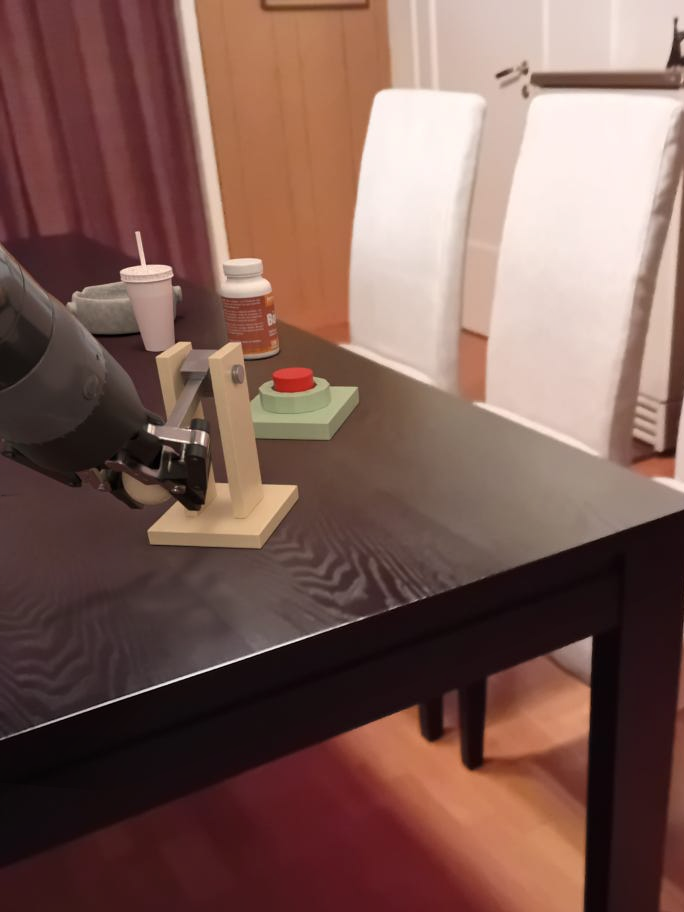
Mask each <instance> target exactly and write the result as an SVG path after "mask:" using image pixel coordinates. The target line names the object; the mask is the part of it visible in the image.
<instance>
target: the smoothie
mask: <svg viewBox="0 0 684 912" xmlns="http://www.w3.org/2000/svg"><path fill="white" fill-rule="evenodd" d="M134 233H135V239H136V245H137V249H138V254H139V260H140V265H135V266H130V267H126V268H123V269H121V270H120V271H119V275H120V281H121V282H122V281H124V283H125V286H126V289H127V293H128V296H129V299H130V302H131V305H132V308H133V311H134V314H135V317H136V320H137V324H138V327H139V330H140V332H139V333H140V336H141V339H142V342H143V345H144V349H145V351H148V352H164V351H166V350H167V349H169V348H171V347H172V346H174V345H175V344H176V341H175V340H176V339H175V338H176V337H175V336H176V335H175V319H174V317H173V299H172V286H173V285H172V282H173V281H172V278H173V277H174V272H173V267H172V266H170V265H166V264H146V263H147V262H146V258H145V253H144V247H143V242H142V241H143V240H142V236H141V232H140V231H139V230H138V231H135V232H134Z"/></svg>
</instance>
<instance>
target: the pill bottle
mask: <svg viewBox="0 0 684 912" xmlns="http://www.w3.org/2000/svg"><path fill="white" fill-rule="evenodd" d="M222 270H223V271H222V272H223V274H224V277H226V280H224V282H222V284H221V285H220V290H219V291H220V298H221V305H222V312H223V318H224V324H225V329H226V338H227V344H228V343H229V342H240V343H241V345H242V352H243V359H244V360H260V359H266V358H270V357H274V356H276V355H277V354H278V353H279V351H280V341H279V334H278V325H277V318H276V310H275V303H274V301H275V300H274V293H273V288H272V284H271V283H270V281H268V280H267V279H266V278H264V277H263V274H264V266H263V260H262V259H260V258H254V257H249V258H248V257H246V258H245V257H243V258H234V259H228V260H225V261H223V262H222Z"/></svg>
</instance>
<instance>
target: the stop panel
mask: <svg viewBox="0 0 684 912" xmlns="http://www.w3.org/2000/svg"><path fill="white" fill-rule="evenodd" d="M313 380H314V388H313V389H310V390H307V391H303V392H296V393H281V392H276V391H275V390H274V383H273V379H272V380H269V381H265V382H264V383H263V384H261V386H259V387H258V394H257V395H256V396H254V398H253V399H252V400H250V407H251V414H252V420H253V427H254V434H255V439H263V440H264V439H265V440H266V439H267V440H305V441H306V440H308V441H309V440H312V441H330V440H331V439H332V438H333V436H334V435H335V434H336V432H338V430H339V429H340V428H341V427H342V425H343V424H344V422H345V421H346V420H347V419H348V417H349V416H350V415H351V413H352V412H353V411H354V410H355V409H356V407H357V406H358V405H359V403H360V395H359V393H360V392H359V387H358V386H331V385H330V383H329V382H328V381H327V379H326V378H321V377H317V376H313Z"/></svg>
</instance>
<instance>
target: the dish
mask: <svg viewBox="0 0 684 912" xmlns="http://www.w3.org/2000/svg"><path fill="white" fill-rule="evenodd" d="M172 299H173V317H174V320H175V319H176V318H177V317H176V316H177V304H178V303H179V304H180V303H182V302H183V291H182V287H181V286H180V285H175V286H173V285H172ZM65 306H66V307H67V308H68V309H69V310H70V311H71V312H72V313H73V314H74V315H75V317H76V318H77V319H78V320H79V321H80V322H81V323H82V324H83V325H84V326H85V328H86V329H87V330H88V331H89V332H90V333H91V334H92V335H104V336H105V335H107V336H108V335H110V336H111V335H127V334H128V335H129V334H137V333H140V330H139V327H138V324H137V320H136V317H135V314H134V311H133V308H132V305H131V302H130V299H129V296H128V293H127V289H126V286H125V283H124V281H122V280H121V281H116V282H111V283H104V284H99V285H91V286H86V287H84V288H83V289H82V291H78V290H76V291H74V292H73V293H72V295H71V301H68V302H67V303H66V305H65Z"/></svg>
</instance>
